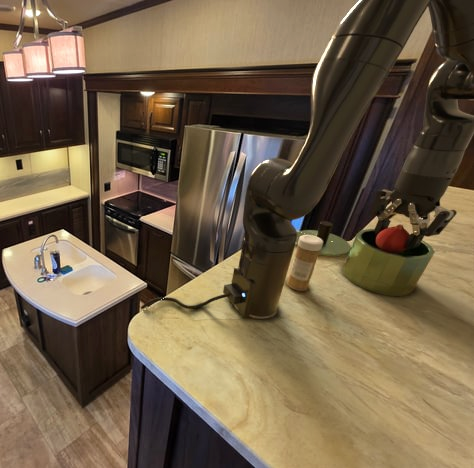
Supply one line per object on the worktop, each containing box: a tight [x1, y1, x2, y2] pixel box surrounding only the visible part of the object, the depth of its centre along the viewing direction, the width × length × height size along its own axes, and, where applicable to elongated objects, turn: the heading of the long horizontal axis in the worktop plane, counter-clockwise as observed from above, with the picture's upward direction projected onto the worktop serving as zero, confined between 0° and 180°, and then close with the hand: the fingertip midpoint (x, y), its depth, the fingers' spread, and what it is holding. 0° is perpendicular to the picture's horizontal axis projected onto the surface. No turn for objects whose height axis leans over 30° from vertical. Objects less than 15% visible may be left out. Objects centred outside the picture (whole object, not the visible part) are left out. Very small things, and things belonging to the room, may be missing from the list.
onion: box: [376, 223, 411, 254], centre depth 66 cm, size 6×6×8 cm
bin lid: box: [295, 220, 351, 257], centre depth 85 cm, size 14×14×7 cm
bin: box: [342, 228, 436, 297], centre depth 69 cm, size 13×13×10 cm
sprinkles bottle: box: [286, 235, 323, 292], centre depth 68 cm, size 5×5×13 cm
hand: (393, 240), depth 66 cm, fingers closed on onion, 6 cm apart
